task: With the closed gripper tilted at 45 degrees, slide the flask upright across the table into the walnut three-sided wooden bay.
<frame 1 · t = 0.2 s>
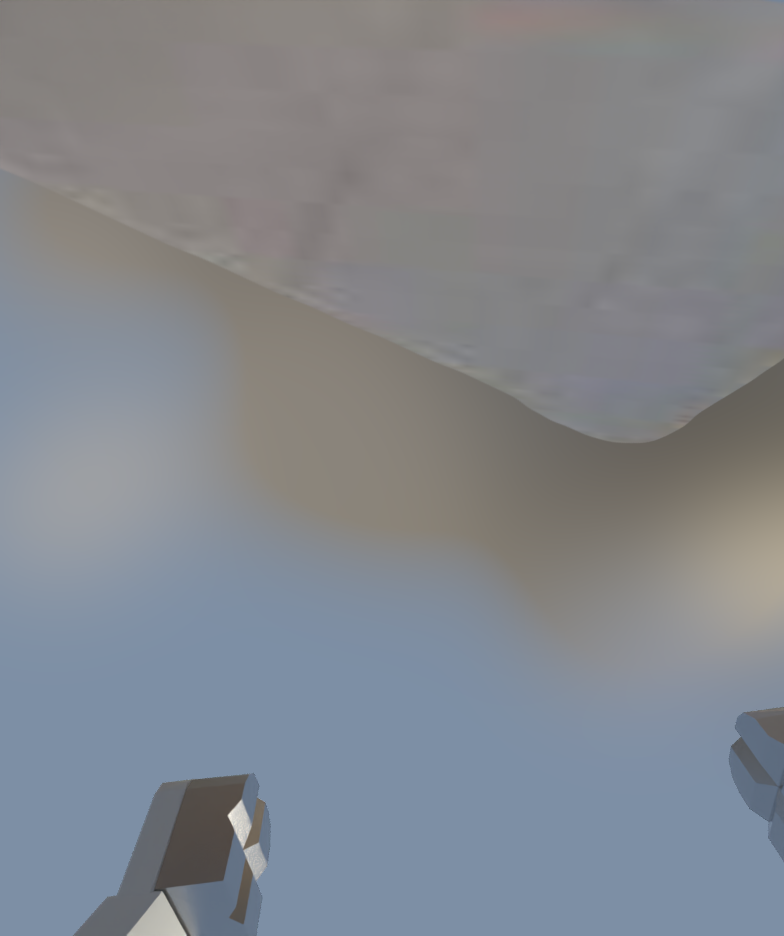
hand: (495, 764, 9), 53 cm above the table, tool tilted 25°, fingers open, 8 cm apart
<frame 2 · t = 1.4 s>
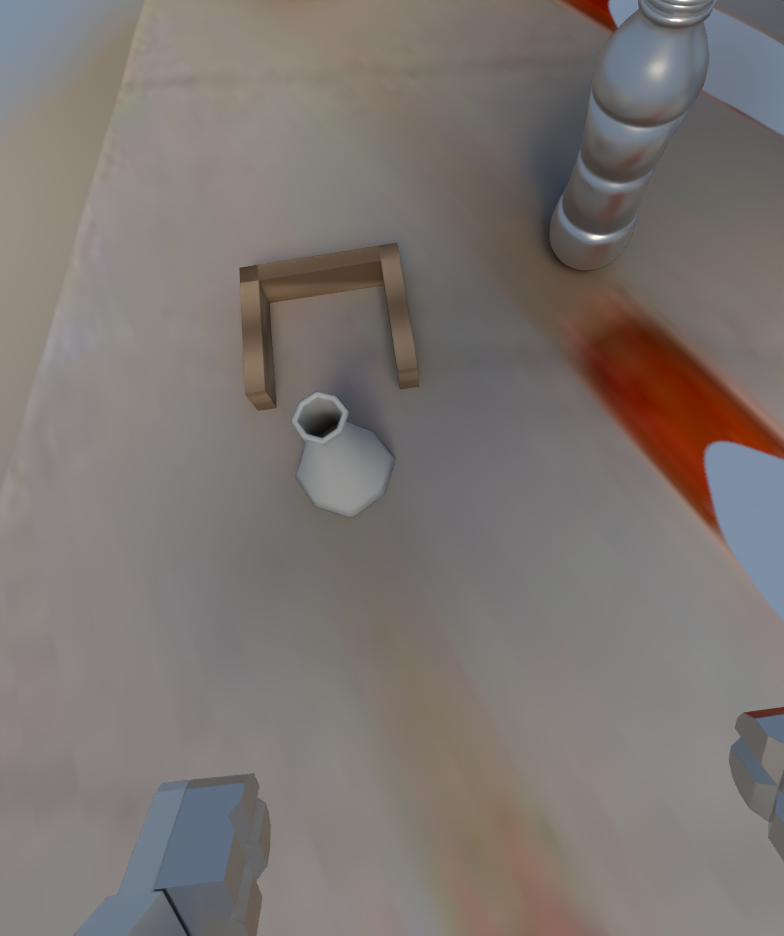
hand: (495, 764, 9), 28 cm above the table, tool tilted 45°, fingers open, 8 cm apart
flask: (346, 470, 41), on the table
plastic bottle: (582, 249, 45), on the table
walnut bay: (332, 344, 44), on the table
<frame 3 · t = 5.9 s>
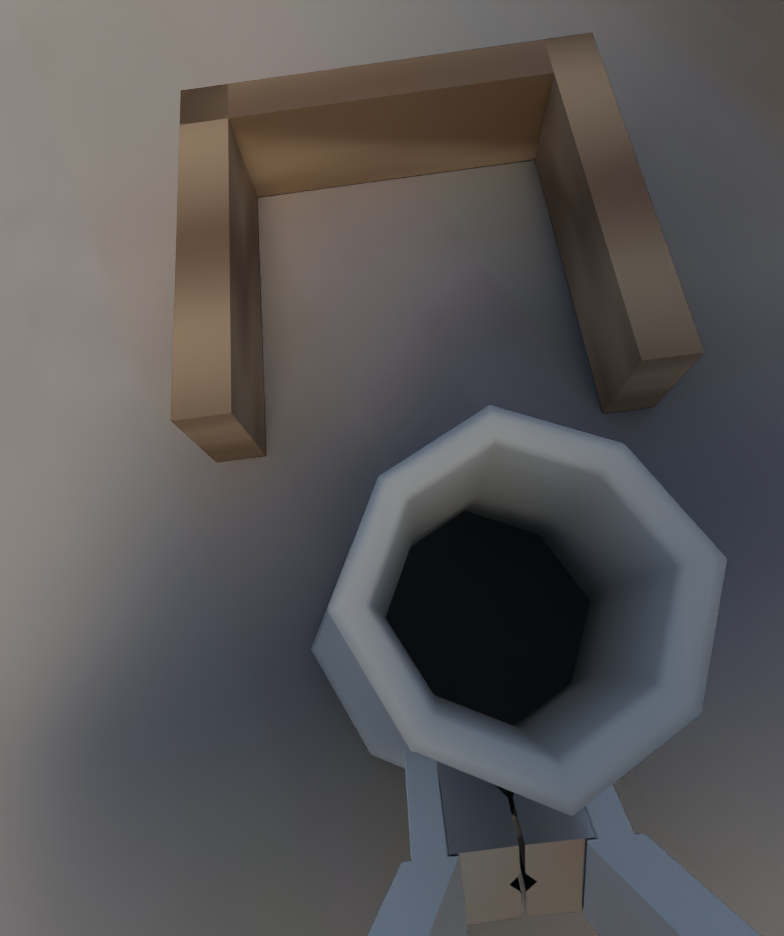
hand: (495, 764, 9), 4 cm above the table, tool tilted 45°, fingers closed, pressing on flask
flask: (458, 631, 14), on the table, touching gripper
walnut bay: (412, 294, 17), on the table
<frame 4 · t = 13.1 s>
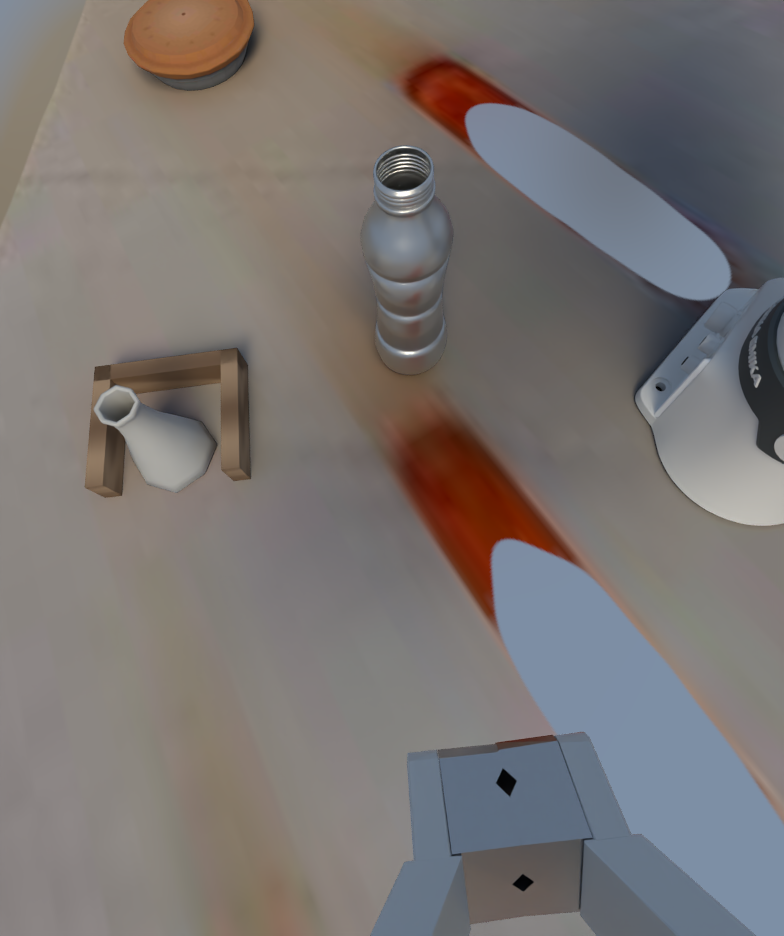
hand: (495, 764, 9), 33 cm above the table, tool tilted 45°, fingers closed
pie: (201, 61, 66), on the table
flask: (177, 454, 48), on the table
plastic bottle: (411, 353, 50), on the table
walnut bay: (178, 436, 49), on the table
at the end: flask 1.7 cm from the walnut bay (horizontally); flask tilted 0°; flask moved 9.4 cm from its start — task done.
